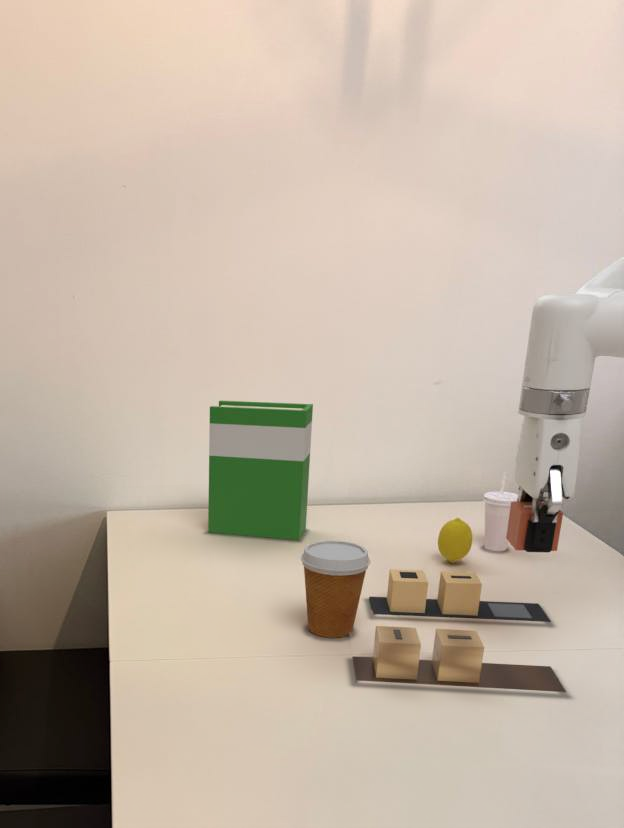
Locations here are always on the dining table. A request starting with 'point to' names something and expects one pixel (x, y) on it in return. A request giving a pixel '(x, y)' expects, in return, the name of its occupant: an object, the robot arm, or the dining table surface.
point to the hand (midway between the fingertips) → (531, 542)
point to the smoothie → (497, 517)
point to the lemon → (455, 540)
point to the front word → (446, 663)
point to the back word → (448, 599)
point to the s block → (519, 522)
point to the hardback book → (259, 468)
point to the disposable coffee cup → (333, 585)
